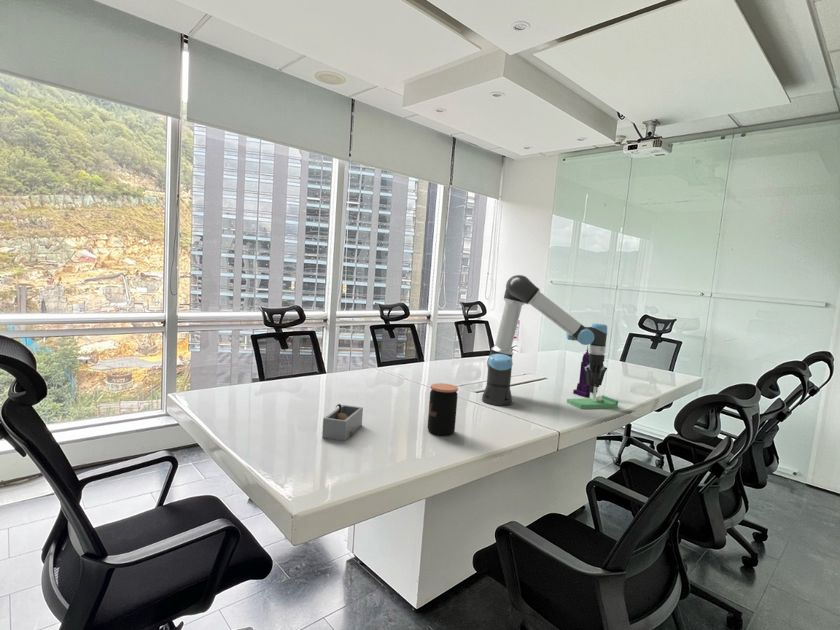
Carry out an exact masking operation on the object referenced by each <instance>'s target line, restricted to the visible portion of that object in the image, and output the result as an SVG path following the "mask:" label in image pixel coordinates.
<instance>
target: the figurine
mask: <svg viewBox="0 0 840 630" xmlns="http://www.w3.org/2000/svg"><path fill="white" fill-rule="evenodd" d="M341 406H342V404H340V403H338V404H337V405H336V406H335V408H339V414H337V416H336V419H338V420H345V419H347V418H348V416H347V415H346V414H345V413H340V410H341ZM350 435H351V436H352V435H354V433H353V432H352V431H351V432H350Z"/></svg>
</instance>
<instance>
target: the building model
mask: <svg viewBox="0 0 840 630" xmlns="http://www.w3.org/2000/svg"><path fill="white" fill-rule="evenodd" d="M586 347H587V348H586V351H585V353H583V354H582V355H583V356H582V358H581V359H582V360H581V362H580V371H579V381H578V382H577V385H576V389H573V392H572V393H573V394H574V395H576V396H580V397H583V398H590V392H589V390H590V386H589V385H587V383H586V373H585V369H584V367H587V366H588V364H589V354H590V352H589V345H586Z"/></svg>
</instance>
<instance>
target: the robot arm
mask: <svg viewBox="0 0 840 630" xmlns="http://www.w3.org/2000/svg"><path fill="white" fill-rule="evenodd" d="M503 296H504V297H503V300H504V302H505V304H504V307H503V312H502V315H501V320H500V324H499V328H498V332H497V336H496V340H495V344H494V345H493V347H491V348H490V353H489V356H488V358H487V360H486V367H487V376H486V386H485V389H484V391H483V393H482V396H481V401H482V402H483V403H485V404H488V405H492V406H499V407H500V406H501V407H503V406H504V407H505V406H507V407H508V406H511V405H512V404H513V396H512V392H511V391H512V390H511V383H512V382H511V379H512V370H513V355H514V354H513V351H512V347H513V343H514V339H515V336H516V331H517V328H518V327H517V326H518V323H519V318H520V315H521V311H522V307H523V306H524V305H525V304H526V305H531V306H532V307H533V308H535V310H537V311H538V312H539V313H541V314H543V315H544V316H545V317H546V318H547V319H548V320H550V321H551V322H553V323H554V324H555V325H557V326H558V327H559V328H560V329H561V330H563V331H565V333H566V339H567V340H568V341H576V342H578V343H580V344H581V345H583V346H589V349H588V353H589V364H588V366H587V367H584V369H585V373H586V383H587V385H589V386H590V390H589V392H590V397H589V398H591V399H596V395H597V393H598V388H600V386H602V384H603V381H604V376H605V374H606V372H607V370H608V367H606V366H605V365H604V363H605V358H606V357H605V354H606V348H607V345H606V344H607V336H608V326H607V324H605V323H592V324H591V326H585V325H583V324H582V323H580V321H578V320H577V319H576V318H574V317H573V316H572V315H570V314H569V313H568V312H567V311H566V310H564V309H563V308H561V307H560V306H558V304H556V303H555V302H554V301H552V300H551V299H550V298H548V297H547V296H546V295H545V294H543V293H542V292H541V290H540V288H539V287H538V286H536V285H535V284H534V283H533V282H532V281H531V280H530V279H529V278H528V276H525V275H522V274H521V275H520V274H518V275H517V274H516V275H513V276H511V277H510V278H509V279H508V280H507V281H506V284H505V291H504V295H503Z"/></svg>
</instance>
